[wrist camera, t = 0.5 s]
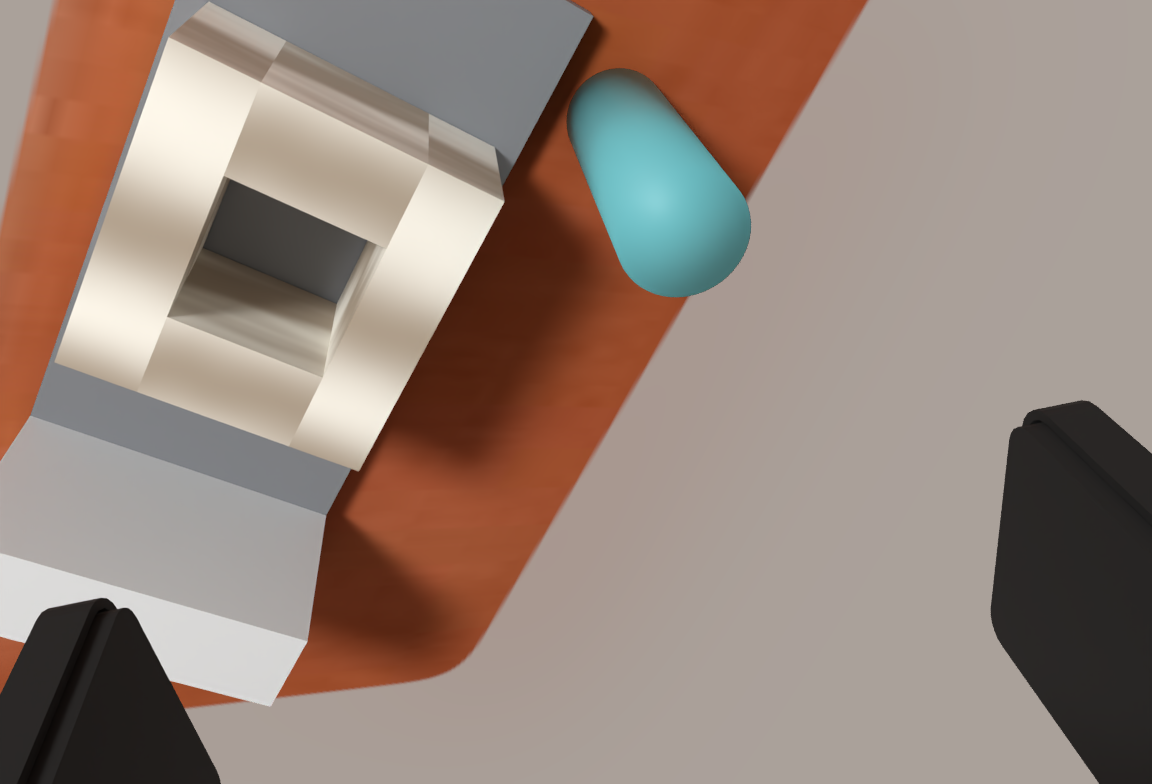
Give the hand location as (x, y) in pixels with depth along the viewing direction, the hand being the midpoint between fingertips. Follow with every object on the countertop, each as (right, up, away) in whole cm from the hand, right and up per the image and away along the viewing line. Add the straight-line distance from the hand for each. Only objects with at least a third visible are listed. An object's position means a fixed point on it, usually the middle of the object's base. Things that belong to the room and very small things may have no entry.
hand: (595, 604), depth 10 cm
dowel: (+1, +13, +28) cm, 31 cm away
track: (-12, +8, +29) cm, 33 cm away
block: (-11, +9, +27) cm, 31 cm away
